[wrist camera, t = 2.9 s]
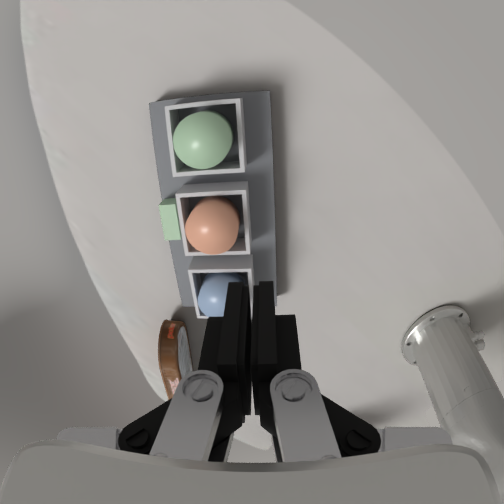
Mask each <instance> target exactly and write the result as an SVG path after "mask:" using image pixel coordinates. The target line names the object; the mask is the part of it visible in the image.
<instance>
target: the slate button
mask: <svg viewBox="0 0 504 504" xmlns="http://www.w3.org/2000/svg"><path fill="white" fill-rule="evenodd" d="M228 282H243V283H244V285H245V282H244V280H243V279H242V278H241V277H240V276H239V275H238V274H237V273H235V272H219V273H208V274H207V275H206V276H205V278H204V280H203V283H202V286H201V289H200V293H199V296H198V306H199V308H200V310H201V311H202V312H203V313H204V314H205V315H206V316H207V317H217V316H223V315H224V309H225V302H226V295H227V288H228Z"/></svg>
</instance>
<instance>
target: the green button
mask: <svg viewBox="0 0 504 504" xmlns="http://www.w3.org/2000/svg"><path fill="white" fill-rule="evenodd" d="M233 141H234V131H233V127H232V125H231V123H230V122H229V120H228V119H227V118H226V117H225V116H224V115H222V114H220V113H218V112H216V111H210V110H205V111H200V112H197V113H194V114H191V115H189V116H187V117H185V118H184V119H183V120H182V121H181V122H180V123H179V124H178V126H177V127H176V129H175V132H174V136H173V146H174V150H175V152H176V154H177V156H178V157H179V159H180V160H181V161H182V162H183V163H185V164H186V165H188V166H190V167H192V168H196V169H207V168H211V167H214V166H216V165H217V164H219V163H220V162H221V161H222V160H223V159H224V158H225V157H226V155H227V154H228V152H229V150H230V149H231V147H232V145H233Z"/></svg>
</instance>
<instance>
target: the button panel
mask: <svg viewBox="0 0 504 504" xmlns="http://www.w3.org/2000/svg"><path fill="white" fill-rule="evenodd" d="M149 108H150V118H151V126H152V135H153V143H154V150H155V158H156V165H157V172H158V179H159V185H160V191H161V198H162V202H161V203H160V204H159V211H160V216H161V222H162V227H163V233H164V238H165V240H169V243H170V248H171V253H172V259H173V263H174V268H175V273H176V278H177V283H178V287H179V292H180V296H181V301H182V305H183V306H184V307H195V310H196V315H197V318H209V317H207V316H206V315H205V314H204V313H203V312H202V311H201V310H200V308H199V306H198V296H199V293H200V289H201V286H202V283H203V280H204V278H205V276H206V275H207V274H208V273H219V272H235V273H237V274H238V275H239V276H240V277H241V278H242V279H243V280H244V282H245V285H249V291H250V305H251V318H252V307H253V285H259V281H273V282H274V302H275V306H277V287H276V239H275V204H274V174H273V148H272V125H271V104H270V91H249V92H234V93H221V94H211V95H201V96H192V97H184V98H177V99H170V100H163V101H157V102H151V103H149ZM205 110H210V111H216V112H218V113H220V114H222V115H224V116H225V117H226V118H227V119H228V120H229V122H230V123H231V125H232V127H233V131H234V141H233V145H232V147H231V149H230V150H229V152H228V154H227V155H226V157H225V158H224V159H223V160H222V161H221V162H220V163H219V164H217V165H216V166H214V167H211V168H207V169H196V168H192V167H190V166H188V165H186V164H185V163H183V162H182V161H181V160H180V159H179V157H178V156H177V154H176V152H175V150H174V146H173V136H174V132H175V129H176V127H177V126H178V124H179V123H180V122H181V121H182V120H183V119H184V118H185V117H187V116H189V115H191V114H194V113H197V112H200V111H205ZM208 196H221V197H224V198H227V199H228V200H230V201H231V202H232V203H233V204H234V205H235V206H236V207H237V209H238V211H239V214H240V225H239V230H238V235H237V239H236V242H235V243H234V245H233V246H232V247H231V248H230V249H229V250H228V251H226V252H224V253H221V254H216V255H210V254H205V253H202V252H200V251H198V250H197V249H195V248H194V247H193V246H192V245H191V244H190V242H189V241H188V239H187V237H186V233H185V225H186V221H187V219H188V217H189V215H190V214H191V212H192V210H193V208H194V207H195V205H196V204H197V203H198V202H199V201H200V200H201V199H203V198H205V197H208Z"/></svg>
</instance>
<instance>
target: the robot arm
mask: <svg viewBox="0 0 504 504" xmlns="http://www.w3.org/2000/svg"><path fill="white" fill-rule="evenodd" d="M483 338H484V332H483V331H478V332H475V333H474V332H472V330H471V329H470V318H469V316H468V314H467V313H466V312H465V310H464V309H462V308H461V307H458V306H453V305H449V306H443V307H439V308H436V309H434V310H432V311H430V312H428V313H426V314H425V315H423V316H422V317H421V318H419V319H418V320H417V321H416V322H415V323H414V324H413V325H412V326H411V327H410V329H409V330H408V331H407V333H406V335H405V336H404V339H403V342H402V353H403V356H404V358H405V359H406V361H407V362H409V363H410V364H412V365H416V366H418V367H419V370H420V372H421V375H422V377H423V380H424V382H425V385H426V388H427V390H428V393H429V396H430V398H431V401H432V404H433V407H434V409H435V412H436V415H437V418H438V421H439V424H440V427H441V428H438V427H385V429H376V428H374V427H373V426H372V425H370V424H369V423H367V422H365V421H364V420H362V419H360V418H359V417H357V416H355V415H354V414H352V413H350V412H349V411H347V410H346V409H344V408H342V407H341V406H339V405H338V404H336V403H334V402H333V401H331V400H330V399H328V398H327V397H325V396H323V395H322V394H321V393H320V390H319V387H318V384H317V382H316V380H315V378H314V377H313V376H312V375H311V374H310V373H308V372H306V371H303V370H301V361H300V352H299V343H298V334H297V326H296V318H295V315H275V302H274V282H273V281H259V285H253V307H252V318H251V305H250V291H249V285H244V283H243V282H228V288H227V295H226V302H225V309H224V315H223V316H217V317H209V318H208V321H207V326H206V331H205V336H204V341H203V346H202V351H201V357H200V362H199V367H198V370H197V371H192V372H190V373H188V374H186V375H185V376H184V377H183V378H182V379H181V380H180V382H179V383H178V386H177V388H176V391H175V393H174V395H173V398H171V399H170V400H168V401H166V402H165V403H163V404H162V405H160V406H159V407H157V408H155V409H154V410H152V411H150V412H149V413H147V414H145V415H144V416H142V417H140V418H139V419H137V420H135V421H134V422H132V423H130V424H129V425H127V426H126V427H125V428H123V429H118V428H117V427H71V428H66V429H64V430H62V431H61V432H60V433H59V434H58V436H57V438H56V440H44V441H38V442H33V443H30V444H27V445H25V446H24V447H22V448H21V449H20V450H19V451H18V453H17V454H16V455H15V457H14V458H13V460H12V462H11V464H10V466H9V468H8V470H7V472H6V475H5V477H4V480H3V482H2V485H1V488H0V504H504V398H503V396H502V394H501V392H500V391H499V388H498V386H497V384H496V382H495V381H494V379H493V377H492V375H491V373H490V371H489V369H488V367H487V366H486V364H485V362H484V360H483V358H482V356H481V355H480V353H479V351H480V350H483V349H484V347H485V342H484V340H483ZM479 339H480V340H479ZM252 387H253V397H254V408H255V415H260V423H261V426H262V427H263V428H264V429H265V430H267V431H268V432H269V433H270V434H271V439H272V444H273V449H274V454H275V460H276V463H229V462H227V460H228V456H229V452H230V448H231V444H232V441H233V436H234V431H236V430H237V429H238V428H240V427H241V426H242V423H245V415H251V391H252Z"/></svg>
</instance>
